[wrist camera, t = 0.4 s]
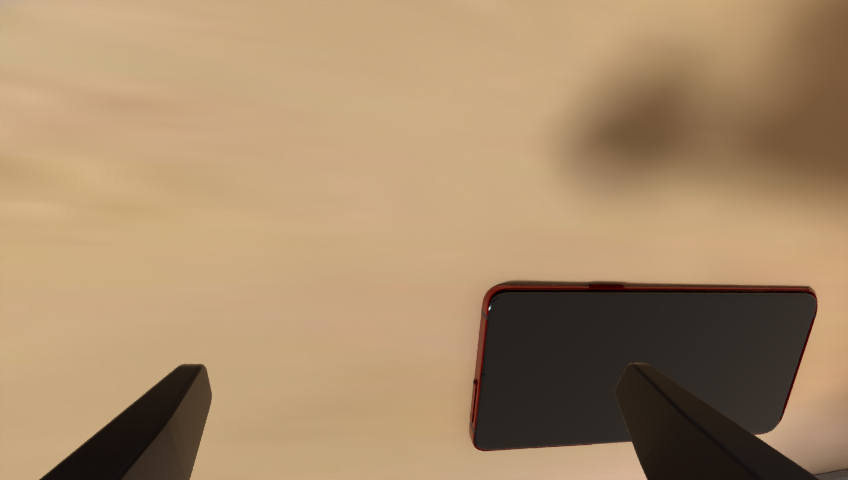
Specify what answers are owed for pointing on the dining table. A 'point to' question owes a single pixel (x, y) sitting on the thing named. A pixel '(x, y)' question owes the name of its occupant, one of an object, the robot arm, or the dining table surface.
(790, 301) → the smartphone
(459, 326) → the dining table surface
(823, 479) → the charcoal mat
